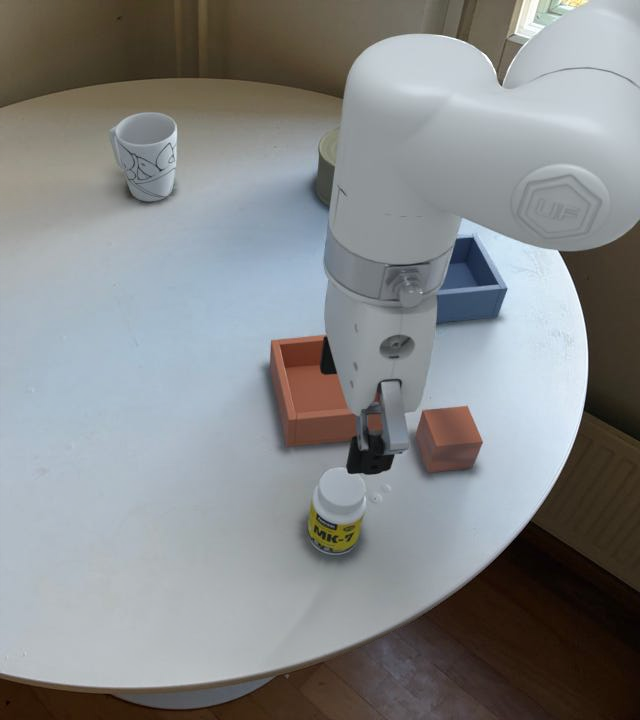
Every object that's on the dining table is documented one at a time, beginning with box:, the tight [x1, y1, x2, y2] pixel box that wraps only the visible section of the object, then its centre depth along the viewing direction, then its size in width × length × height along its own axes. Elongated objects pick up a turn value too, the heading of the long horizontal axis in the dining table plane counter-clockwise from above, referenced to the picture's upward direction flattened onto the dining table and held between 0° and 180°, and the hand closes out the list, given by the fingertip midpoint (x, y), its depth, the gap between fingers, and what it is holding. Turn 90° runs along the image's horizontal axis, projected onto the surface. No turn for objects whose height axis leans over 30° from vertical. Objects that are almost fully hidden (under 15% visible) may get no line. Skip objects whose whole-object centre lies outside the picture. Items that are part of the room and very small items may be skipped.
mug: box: [108, 111, 178, 203], centre depth 109 cm, size 11×8×10 cm
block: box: [414, 405, 484, 473], centre depth 76 cm, size 4×4×4 cm
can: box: [315, 126, 340, 208], centre depth 106 cm, size 12×12×7 cm
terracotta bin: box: [269, 334, 383, 448], centre depth 82 cm, size 11×11×5 cm
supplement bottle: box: [306, 467, 367, 556], centre depth 70 cm, size 5×5×8 cm
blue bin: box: [436, 232, 509, 324], centre depth 92 cm, size 10×10×5 cm
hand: (352, 417), depth 60 cm, fingers open, 9 cm apart
